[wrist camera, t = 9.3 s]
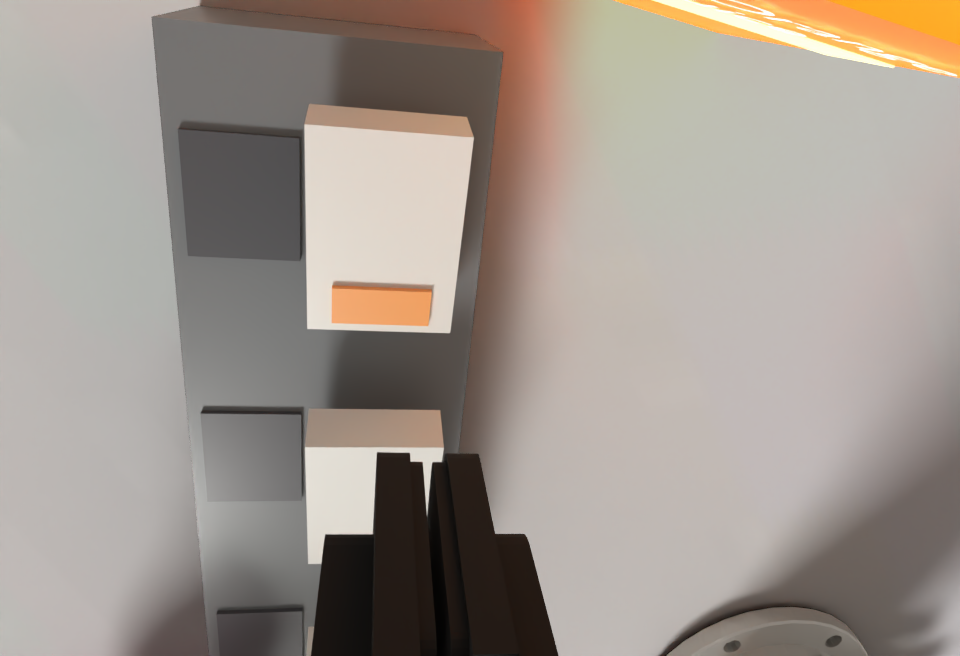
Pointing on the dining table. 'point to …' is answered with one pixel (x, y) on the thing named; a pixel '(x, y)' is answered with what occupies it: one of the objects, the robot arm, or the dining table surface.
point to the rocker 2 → (359, 464)
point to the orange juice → (836, 27)
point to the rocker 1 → (384, 217)
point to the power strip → (290, 282)
